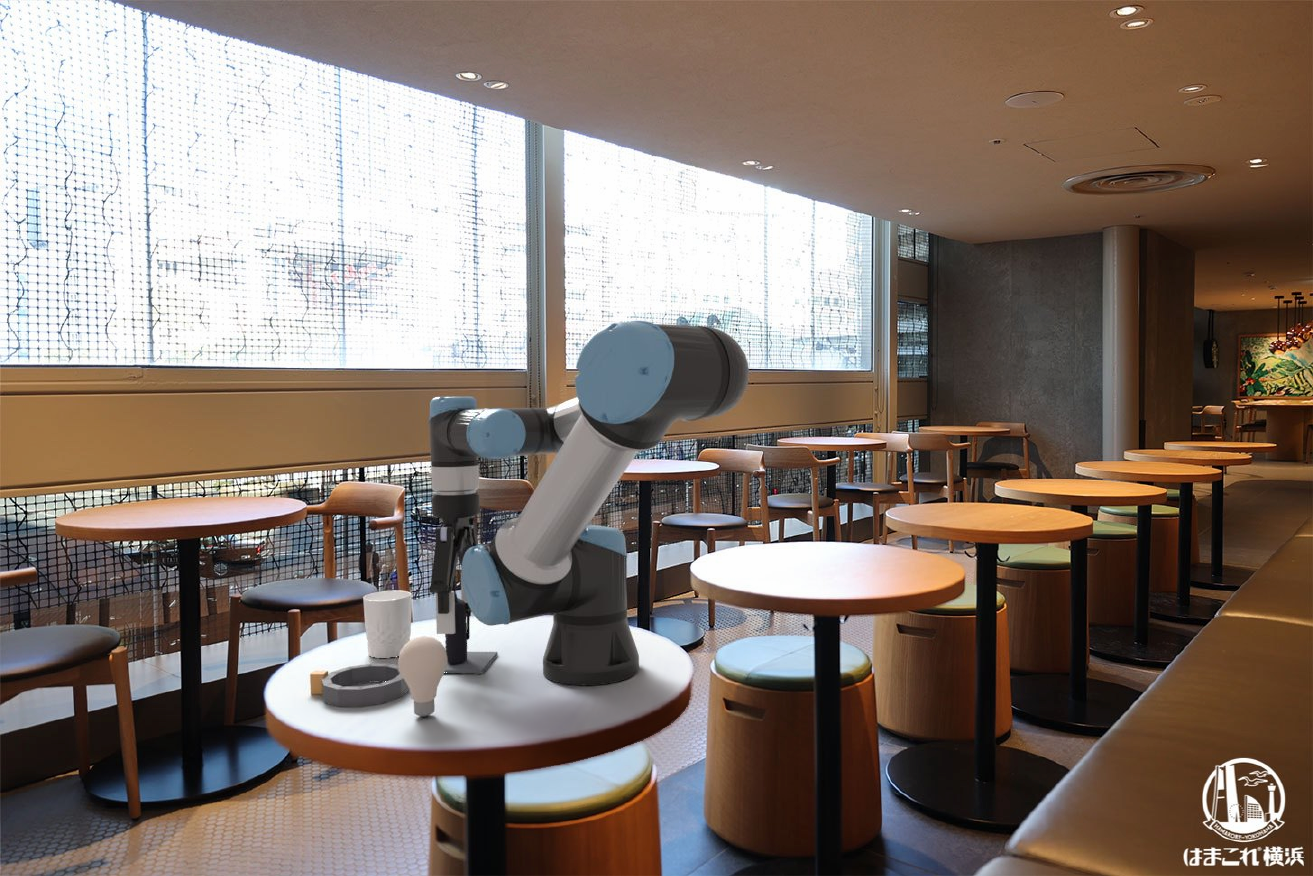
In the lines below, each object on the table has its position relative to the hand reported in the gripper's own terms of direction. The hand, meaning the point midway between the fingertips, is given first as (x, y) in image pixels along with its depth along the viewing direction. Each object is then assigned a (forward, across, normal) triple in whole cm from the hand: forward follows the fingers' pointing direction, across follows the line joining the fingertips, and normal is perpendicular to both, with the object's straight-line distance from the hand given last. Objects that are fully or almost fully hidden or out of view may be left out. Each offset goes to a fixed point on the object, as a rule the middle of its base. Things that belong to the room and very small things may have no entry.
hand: (458, 622), depth 142 cm
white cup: (+7, -6, -14) cm, 17 cm away
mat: (+7, 0, 0) cm, 7 cm away
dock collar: (+7, +14, -11) cm, 19 cm away
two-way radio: (+7, 0, 0) cm, 7 cm away
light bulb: (+7, +23, +2) cm, 25 cm away
